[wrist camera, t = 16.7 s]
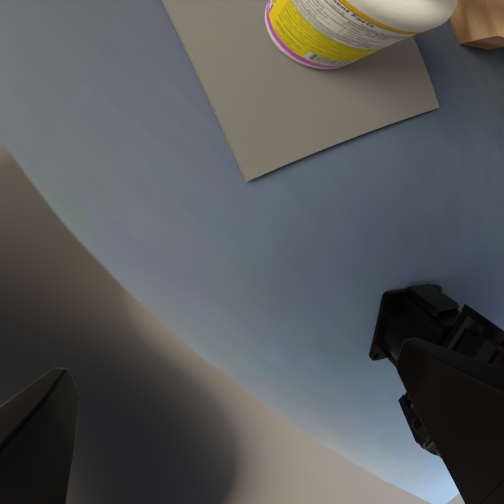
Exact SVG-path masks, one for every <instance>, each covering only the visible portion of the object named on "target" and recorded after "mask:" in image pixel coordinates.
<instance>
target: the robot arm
mask: <svg viewBox="0 0 504 504" xmlns="http://www.w3.org/2000/svg"><path fill="white" fill-rule="evenodd" d="M388 297H389V299H388V300H387V298H388ZM461 311H462V312H460V311H459V305H458V303H457V302H455V301H454V300H452V299H451V298H449V297H448V296H446V295H445V294H443V293H442V288H441V287H440V286H439V285H432V286H431V285H430V284H427V285H420V286H413V287H408V288H406V289H403V290H396V291H388V292H386V293H384V294H383V296H382V299H381V304H380V309H379V314H378V319H377V324H376V328H375V333H374V337H373V341H372V345H371V350H370V354H369V357H370V358H371V359H372V360H373V361H375V360H379V359H384V358H388V359H389V360H390V361H391V362H392V363H393V364H394V366H395V367H396V368H397V372H398V374H399V376H400V378H401V380H402V382H403V385H404V387H405V389H406V391H407V392H406V393H405V395H402V397H401V398H400V399H399V400H398V401H399V403H400V405H401V408H402V410H403V413H404V415H405V417H406V420H407V422H408V424H409V427H410V429H411V432H412V434H413V436H414V439H415V441H416V442H417V443H418V444H419V445H420V446H421V447H422V448H423V449H426V450H427V451H429V452H430V453H432V454H434V455H437V456H440V457H441V458H442V460H443V461H444V463H445V465H446V467H447V469H448V471H449V473H450V475H451V477H452V479H453V480H454V482H455V484H456V486H457V488H458V490H459V492H460V494H461V496H462V498H463V500H464V502H465V504H504V331H503V330H502V329H500V328H499V327H498V326H496V325H495V324H493V323H492V322H491V321H489V320H488V319H486V318H485V317H483V316H482V315H480V314H479V313H478V312H476V311H475V310H473V309H472V308H470V307H469V306H467V305H466V304H465V305H464V307H463V308H462V310H461ZM375 354H376V355H375ZM78 406H79V394H78V391H77V388H76V386H75V383H74V381H73V378H72V376H71V373H70V371H69V370H67V369H66V368H53V369H51V370H50V371H49V372H47V373H46V374H44V375H43V376H42V377H40V378H39V379H37V380H36V381H35V382H33V383H32V384H31V385H29V386H28V387H26V388H25V389H24V390H23V391H21V392H20V393H18V394H17V395H16V396H14V397H13V398H11V399H10V400H9V401H7V402H6V403H5V404H3V405H2V406H0V504H65V503H66V495H67V489H68V482H69V476H70V470H71V464H72V459H73V452H74V445H75V434H76V423H77V414H78Z"/></svg>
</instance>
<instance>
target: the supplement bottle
mask: <svg viewBox="0 0 504 504" xmlns="http://www.w3.org/2000/svg"><path fill="white" fill-rule="evenodd" d="M456 5H457V0H269V1H268V3H267V6H266V9H265V23H266V27H267V30H268V33H269V35H270V37H271V39H272V40H273V42H274V43H275V44H276V46H277V47H278V48H279V49H280V50H281V51H282V52H284V53H285V54H286V55H287V56H289V57H290V58H291V59H293V60H295V61H297V62H299V63H301V64H303V65H306V66H309V67H312V68H318V69H335V68H339V67H343V66H345V65H348V64H350V63H352V62H354V61H356V60H358V59H361V58H363V57H365V56H367V55H369V54H371V53H374V52H376V51H378V50H380V49H383V48H385V47H387V46H390V45H392V44H394V43H396V42H399V41H402V40H404V39H407V38H409V37H412V36H414V35H417V34H420V33H423V32H425V31H427V30H430V29H433V28H435V27H438V26H440V25H441V24H443V23H445V22H446V21H447V20H448V19H449V18H450V17H451V16H452V14H453V12H454V10H455V8H456Z"/></svg>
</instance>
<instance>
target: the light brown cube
mask: <svg viewBox="0 0 504 504" xmlns="http://www.w3.org/2000/svg"><path fill="white" fill-rule="evenodd" d="M450 21H451V24H452V26H453V29H454V32H455V35H456V38H457V41H458V44H460V45H466V46H472V47H478V48H483V49H494V48H500V47H504V0H457V5H456V8H455V10H454V12H453V14H452V16H451V17H450Z"/></svg>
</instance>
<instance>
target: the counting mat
mask: <svg viewBox="0 0 504 504" xmlns="http://www.w3.org/2000/svg"><path fill="white" fill-rule="evenodd" d="M161 1H162V3H163V5H164V7H165V9H166V11H167V13H168V15H169V17H170V19H171V21H172V23H173V25H174V28H175V30H176V32H177V34H178V36H179V38H180V40H181V42H182V44H183V46H184V49H185V51H186V53H187V55H188V57H189V59H190V61H191V63H192V65H193V68H194V70H195V72H196V74H197V76H198V78H199V80H200V83H201V85H202V87H203V89H204V91H205V93H206V96H207V98H208V100H209V102H210V104H211V106H212V109H213V111H214V113H215V115H216V117H217V120H218V122H219V124H220V126H221V128H222V131H223V133H224V135H225V137H226V139H227V142H228V144H229V146H230V148H231V151H232V153H233V155H234V157H235V160H236V162H237V164H238V166H239V169H240V171H241V173H242V175H243V178H244V180H245V181H246V182H248V181H250V180H252V179H254V178H257V177H259V176H261V175H264V174H266V173H268V172H270V171H273V170H275V169H277V168H280V167H282V166H284V165H287V164H289V163H291V162H294V161H296V160H299V159H301V158H303V157H306V156H308V155H311V154H313V153H316V152H318V151H321V150H323V149H326V148H328V147H331V146H333V145H336V144H338V143H341V142H344V141H346V140H349V139H351V138H354V137H357V136H359V135H362V134H365V133H367V132H370V131H373V130H376V129H378V128H381V127H384V126H387V125H389V124H392V123H395V122H398V121H401V120H404V119H407V118H410V117H413V116H416V115H419V114H422V113H425V112H428V111H431V110H434V109H437V108H440V106H439V103H438V100H437V97H436V94H435V91H434V88H433V85H432V82H431V79H430V77H429V74H428V71H427V69H426V66H425V63H424V61H423V58H422V56H421V54H420V51H419V49H418V46H417V44H416V42H415V39H414V37H413V36H412V37H409V38H407V39H404V40H402V41H399V42H396V43H394V44H392V45H390V46H387V47H385V48H383V49H380V50H378V51H376V52H374V53H371V54H369V55H367V56H365V57H363V58H361V59H358V60H356V61H354V62H352V63H350V64H348V65H345V66H343V67H339V68H335V69H318V68H312V67H309V66H306V65H303V64H301V63H299V62H297V61H295V60H293V59H291V58H290V57H289V56H287V55H286V54H285V53H284V52H282V51H281V50H280V49H279V48H278V47H277V46H276V44H275V43H274V42H273V40H272V39H271V37H270V35H269V33H268V30H267V27H266V23H265V9H266V6H267V3H268V1H269V0H161Z"/></svg>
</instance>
